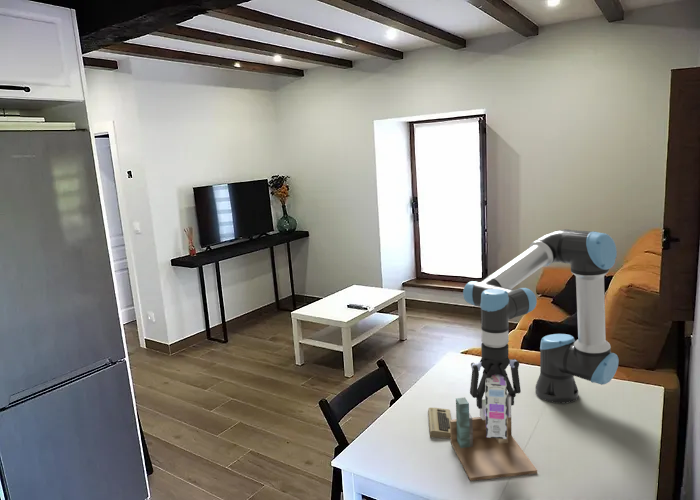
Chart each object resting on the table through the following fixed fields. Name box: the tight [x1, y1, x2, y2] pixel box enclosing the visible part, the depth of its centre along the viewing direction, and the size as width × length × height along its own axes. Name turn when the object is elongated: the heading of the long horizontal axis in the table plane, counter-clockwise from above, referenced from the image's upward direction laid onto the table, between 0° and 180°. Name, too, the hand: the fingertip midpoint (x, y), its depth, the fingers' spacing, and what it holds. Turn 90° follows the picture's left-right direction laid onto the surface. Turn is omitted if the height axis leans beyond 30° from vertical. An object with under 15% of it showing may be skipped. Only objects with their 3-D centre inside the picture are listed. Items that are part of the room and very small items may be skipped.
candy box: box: [484, 374, 508, 439], centre depth 147 cm, size 14×6×16 cm, turn 166°
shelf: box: [450, 397, 538, 482], centre depth 153 cm, size 20×20×16 cm
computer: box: [427, 407, 453, 439], centre depth 175 cm, size 16×8×3 cm, turn 173°
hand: (495, 416), depth 148 cm, fingers closed on candy box, 7 cm apart
